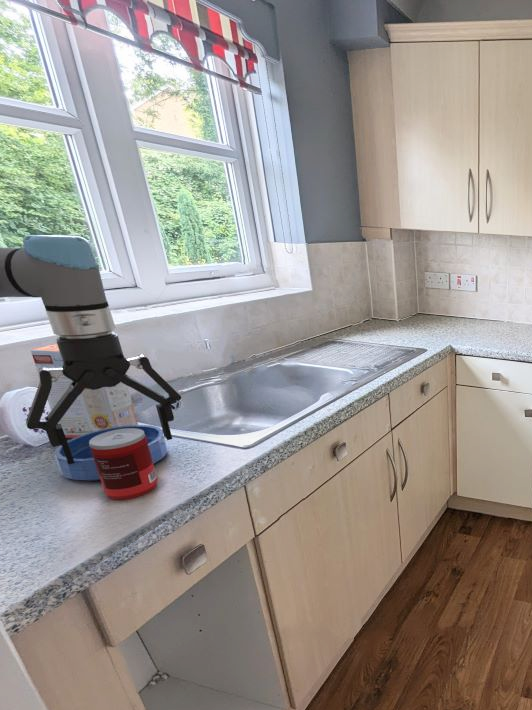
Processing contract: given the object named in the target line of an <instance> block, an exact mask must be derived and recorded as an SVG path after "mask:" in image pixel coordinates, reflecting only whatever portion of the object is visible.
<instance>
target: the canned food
mask: <svg viewBox="0 0 532 710" xmlns="http://www.w3.org/2000/svg"><path fill="white" fill-rule="evenodd" d="M89 444H90V445H89V446H90V449H91V452H92V455H93V458H94V461H95V464H96V467H97V470H98V473H99V476H100V479H101V480H100V482H101V485H102V488H103V492H104V494H105V495H106V496H107V497H108V498H109V499H111V500H117V501H118V500H120V501H121V500H129V499H130V500H131V499H134V498H135V499H136V498H138V497H140V496H144V495H146V494H148V493H149V492H151V491H153V490H154V489H155V488H156V487H157V485H158V476H157V473H156V469H155V465H154V464H155V463H154V464H153V461H152V457H151V453H150V450H149V446H148V442H147V439H146V435H145V433H144V431H143V430H141V429H136V428H125V429H118V430H113V431H109V432H105V433H102V434H100V435H97V436H95V437H93V438H92V439H91V440H90V441H89Z"/></svg>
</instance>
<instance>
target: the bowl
mask: <svg viewBox="0 0 532 710" xmlns="http://www.w3.org/2000/svg"><path fill="white" fill-rule="evenodd" d="M125 428H136V429H141V430H143V431H144V433H145V435H146V439H147V442H148V446H149V450H150V453H151V457H152V461H153V464H156V463H157V462H159V461H160V460H162V459H163V458H164V457H165V456H166V455H167V454H168V452H169V447H168V444H167V439H166V438H165V436H164V434H163V430H162V428H160V427H159V426H156V425H155V426H154V425H150V424H138V425H129V426H120V427H113V428H108V429H103V430H98V431H94V432H90V433H87V434H84V435H81V436H78V437H75V438H70V439H69V440H67V442H68V445H69V448H70V451H71V454H72V456H73V459H74V462H75V463H72V464H68V461H67V458H66V456H65V453H64V450H63V447H62V445H61V446H56V447H55V450H54V452H53V455H54V459H55V462H56V464H57V467H58V470H59V472H60V474H61V476H63V477H64V478H66V479H69V480H74V481H89V482H91V481H101V479H100V476H99V473H98V470H97V467H96V464H95V461H94V458H93V455H92V452H91V449H90V446H89V445H90V444H89V441H90V440H91V439H92V438H93V437H95V436H97V435H100V434H102V433H105V432H109V431H113V430H118V429H125Z"/></svg>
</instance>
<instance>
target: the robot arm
mask: <svg viewBox="0 0 532 710" xmlns="http://www.w3.org/2000/svg"><path fill="white" fill-rule="evenodd" d="M22 244H23V247H0V298H40V299H41V300H42V304H43V306H44V309H45V312H46V316H47V318H48V321H49V324H50V327H51V330H52V333H53V334H54V335H56V336H58V337H57V338H56V340H55V342H56V345H58V348H59V351H60V354H61V357H62V360H63V367H62V368H54V369H48V368H46V367H41V368H39V370H38V371H37V373H38V372H39V374H38V376H39V383H38V386H37V389H36V392H35V394H34V396H33V397H34V398H33V400H32V403H31V406H30V409H29V411H28V415H27V417H26V420H25V424H26V425H25V426H26V428H27V429H29V430H39V429H40V430H44V431H45V433H46V435H47V438H48V440H49V443H50V446H51V447H53V448H57V447H59V446H61V445H62V447H63V450H64V453H65V456H66V458H67V461H68V464H72V463H75V462H74V459H73V456H72V454H71V451H70V448H69V445H68V442H67V441H68V440H67V438H66V437H65V434H64V431H63V428H62V426H61V423H60V424H58V422H59V421H60V420H61V418H62V417H63V416H64V414H65V413H66V412H67V410H68V409H69V408H70V406H71V405H72V404H73V402H74V401H75V400H76V398H77V397H78V396H79V395H80V394H81V393H82V392H83V390H84V389H85V388H86V389H92V390H96V389H100V388H102V387H114V386H116V385H117V384H119V383H120V382H122V383H123V384H125V385H127V386H128V388H131V389H133V390H135V391H137V392H139V393H141V394H142V395H144V396H146V397H147V398H149V399H151V400H153V401H155V402H157V404H155V407H156V411H157V414H158V418H159V422H160V426H161V429H162V430H163V434H164V436H165V439H166V441H169V440H173V436H172V433H171V427H170V425H169V422H173V421H174V420H175V417H174V412H173V409H172V405H173V404H174V403H175V402H178V401H180V400H181V399H182V396H181V395H180V394H179V393H178V392H177V391H176V390H175V389H174V388H173V387H172V386H171V385H170V384H169V383H168V382H167V381H166V379H164V378H163V376H161V375H160V374H159V373H158V371H156V370H155V369H154V368H153V366H152V364H151V362H150V360H149V358H148V357H147V356H146V355H145V354H142V353H141V354H138V355H137V356H136V357H131V358H126V357H125V355H124V352H123V349H122V345H121V342H120V338H119V334H117V333H116V332H114V330H115V329H116V325H115V322H114V321H115V320H114V319H113V314H112V312H111V308H110V304H109V301H108V300H107V296H106V292H105V288H104V284H103V280H102V275H101V271H100V264H99V262H98V261H97V259H96V257H95V254H94V253H95V252H94V251H93V248H92V245H91V243H90V241H88V240H87V239H86V238H84V237H82V236H79V235H53V234H52V235H51V234H37V235H36V234H31V235H25V236H24V237H23V238H22ZM131 366H134V367H135V368H136V369H138V370H143V371H144V372H145V373H146V375H148V376H149V377H150V378H151V379H152V380H153V381H154V382H155V383H156V384H157V385H158V386H159V387H160V388H162V390H164V392H165V393H166V394H167V395H163V394H160V393H159V392H157V391H156V390H154V389H152V388H150V387H148V386H146V385H145V384H143V383H142V382H139V381H138V380H136V379H134V378H133V377H132V376H130V375H128V374H127V372H128V371H129V369H130V367H131ZM61 375H64V376H66V377H67V378H69V379H71V380H72V383H71V384H70V385H69V387H68V389H67V391H66V392H65V393H64V395H63V396H62V397H61V399H60V400H59V401H58V402H57V404H56V405H55V406H54V408H53V409H52V410H51V409H50V411H49V413H48V414H47V415H46V417H45V418H44V419H43V418H42V416H43V413H44V410H45V408H46V405H47V402H48V400H47V399H48V396H49V394H50V391H51V388H52V382H56V381H57V380H58V378H59V376H61Z"/></svg>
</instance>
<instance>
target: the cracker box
mask: <svg viewBox="0 0 532 710" xmlns="http://www.w3.org/2000/svg"><path fill="white" fill-rule="evenodd" d="M30 353H31V357H32V360H33V362H34V364H35V367H36V371H37V373H38V375H39V372H38V370H39V368H41V367H46V368H48V369H54V368H62V367H63V360H62V357H61V354H60V351H59V348H58V345H57V344H50V345H46V346H42V347H37V348H33V349H30ZM71 383H72V380H71V379H69V378H67V377H66V376H64V375H61V376H59V378H58V380H57V381H56V382H52V388H51V391H50V394H49V396H48V399H47V402H48V405H49V409H50V411H51V410H52V409H53V408H54V406H55V405H56V404H57V402H58V401H59V400H60V399H61V397H62V396H63V395H64V393H65V392H66V391H67V389H68V387H69V385H70V384H71ZM60 423H61V426H62V428H63V431H64V434H65V437H66V439H73V438H75V437H78V436H81V435H84V434H87V433H90V432H94V431H98V430H103V429H108V428H113V427H120V426H129V425H139V423H138V419H137V415H136V412H135V409H134V405H133V401H132V398H131V394H130V389H129V386H127V385H125V384H123V383H122V382H120V383H119V384H117V385H116V386H114V387H102V388H100V389H96V390H92V389H86V388H85V389H84V390H83V392H82V393H81V394H80V395H79V396H78V397H77V398H76V400H75V401H74V402H73V404H72V405H71V406H70V408H69V409H68V410H67V412H66V413H65V414H64V416H63V417H62V418H61V420H60V421H59V422H58V424H60Z"/></svg>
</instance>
